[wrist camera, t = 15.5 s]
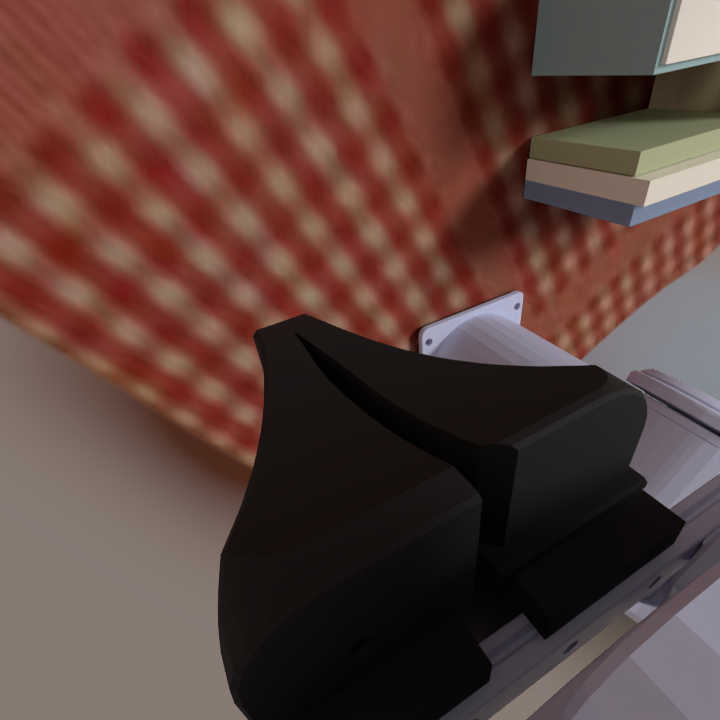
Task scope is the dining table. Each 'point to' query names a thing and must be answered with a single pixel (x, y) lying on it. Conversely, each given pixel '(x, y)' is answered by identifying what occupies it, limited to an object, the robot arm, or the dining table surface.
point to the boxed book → (624, 36)
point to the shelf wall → (688, 89)
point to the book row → (627, 165)
